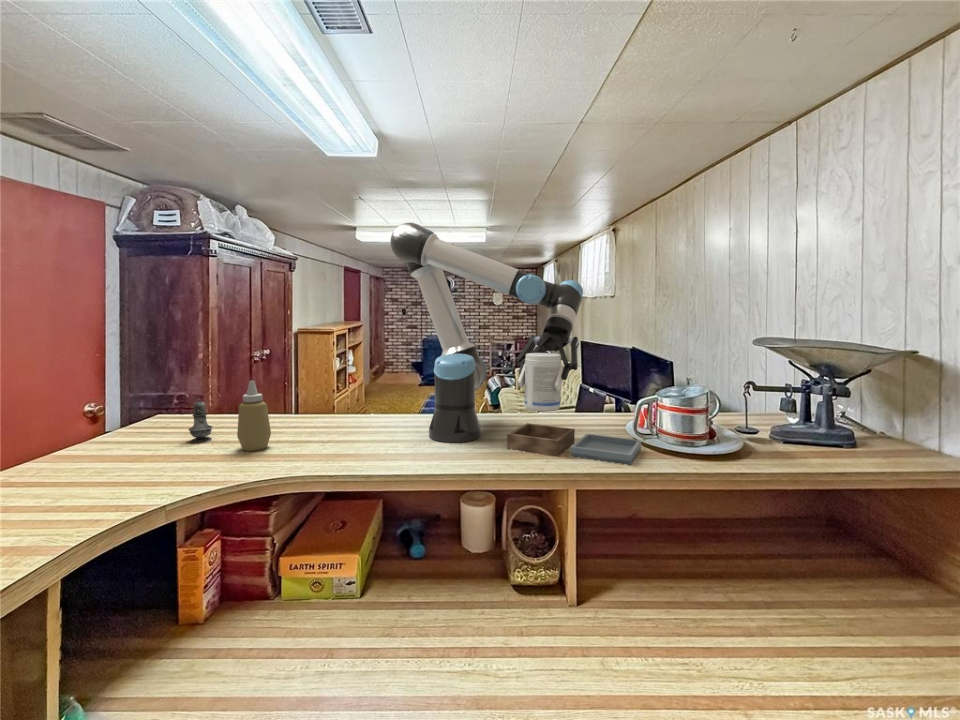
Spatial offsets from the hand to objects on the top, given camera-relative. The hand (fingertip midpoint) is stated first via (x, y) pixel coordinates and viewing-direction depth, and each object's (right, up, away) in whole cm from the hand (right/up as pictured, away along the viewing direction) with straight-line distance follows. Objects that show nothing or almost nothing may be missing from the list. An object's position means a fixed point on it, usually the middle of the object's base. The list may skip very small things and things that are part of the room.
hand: (538, 386), depth 124 cm
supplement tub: (+1, -6, +3) cm, 7 cm away
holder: (+1, -16, +4) cm, 17 cm away
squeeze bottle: (-75, -17, +2) cm, 77 cm away
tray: (+17, -17, -2) cm, 24 cm away
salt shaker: (-93, -16, +9) cm, 95 cm away
